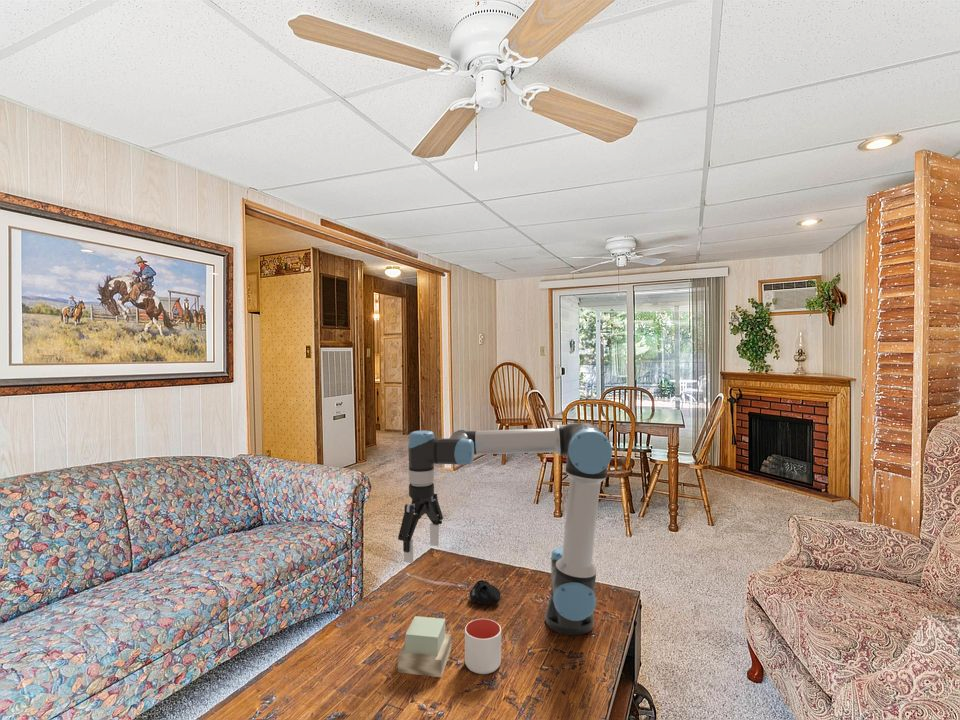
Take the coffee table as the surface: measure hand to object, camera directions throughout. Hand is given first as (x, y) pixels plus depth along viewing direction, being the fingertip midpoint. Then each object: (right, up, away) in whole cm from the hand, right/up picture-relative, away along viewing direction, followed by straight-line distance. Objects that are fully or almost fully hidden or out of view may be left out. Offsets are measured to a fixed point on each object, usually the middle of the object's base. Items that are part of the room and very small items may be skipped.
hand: (422, 553), depth 145 cm
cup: (+18, -26, -12) cm, 34 cm away
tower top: (+2, -21, -10) cm, 24 cm away
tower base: (+2, -26, -10) cm, 28 cm away
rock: (+20, -25, +22) cm, 39 cm away
